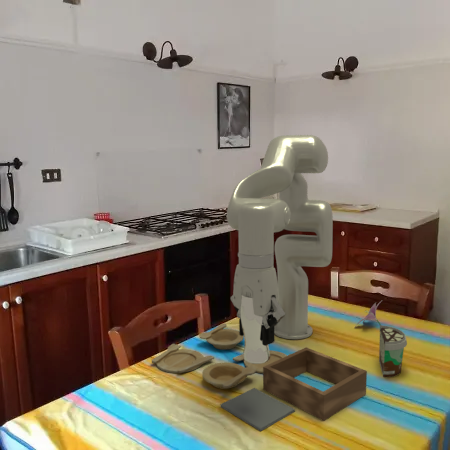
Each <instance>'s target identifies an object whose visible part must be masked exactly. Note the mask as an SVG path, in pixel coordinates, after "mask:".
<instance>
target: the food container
mask: <svg viewBox="0 0 450 450" xmlns="http://www.w3.org/2000/svg"><path fill="white" fill-rule="evenodd" d="M407 345H408V342H407V336H406V334H405V333H404V332H403V331H402V330H401V329H399V328H396V327H394V326H393V327H392V326H388V325H379V350H378V352H379V353H378V361H379V365H380V371H381V374H382V377H383V378H391V377H393V378H394V377H397V376H399V375H400V374H401V371H402V365H403V357H404V349H405V348H406V347H407Z"/></svg>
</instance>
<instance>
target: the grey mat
mask: <svg viewBox="0 0 450 450" xmlns="http://www.w3.org/2000/svg"><path fill="white" fill-rule="evenodd" d="M220 408H221V409H223V410H225V411H227V412H228V413H230V414H231V415H233V416H235V417H237V419H239V420H241V421H243V422H244V423H246V424H248V425H249V426H251V427H253V428H255V429H256V430H258V431H259V432H262V431H264V430H265V429H267V428H269V427H270V426H272V425H274V424H277V422H279V421H281V420H283V419H285V418H286V417H288V416H290V415H292V414H294V413H295V412H296V409H295V408H294V407H291V406H290V405H288V404H285V403H284V402H282V401H281V400H278V399H276V398H274V397H272V396H271V395H269V394H266V392H263V391H261V390H259V389H257V388H256V387H254V388H251V389H249V390H246V391H245V392H243V393H240V394H238V395H237V396H235V397H233V398H230V399H228V400H226V401H224V402H221V403H220Z"/></svg>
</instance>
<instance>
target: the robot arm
mask: <svg viewBox="0 0 450 450" xmlns="http://www.w3.org/2000/svg"><path fill="white" fill-rule="evenodd" d="M328 154H329V152H328V148H327V147H326V145H325V143H324V142H323V140H322V139H321V138H320V137H318V136H316V135H312V134H304V135H303V134H300V135H299V134H298V135H297V134H295V135H291V134H290V135H280V136H276V137H274V138H272V139H271V140H270V142H269V143H268V146H267V148H266V151H265V154H264V157H263V160H262V162H261V163H262V164H261V166H260V168H259V169H257V170H256V171H254V172H252V173H250V175H247V176H246V177H245V178H243V179H242V180H241V181H239V182H238V183H237V184H236V186H235V187H234V189H233V192H232V194H231V197H230V199H229V202H228V206H227V210H226V221H227V223H228V225H229V226H230V228H232V229H233V230H236V231H238V252H237V257H238V264H237V265H236V267H235V272H234V278H233V292H232V293H233V294H232V296H230V301H231V302H232V305H233V306H234V310H235V312H236V316H237V318H238V321H239V322H238V326H239V330H238V331H239V335H241V336H244V334H243V328H242V323H241V312H240V310H241V295H244V296H246V297H250V298H252V301H253V309H254V314H255V315H257V316H260V317H263V318H262V320H263V323H264V326H265V327H263V328H262V344H263V345H264V346H266V345H272V344H274V342H275V336H277V337H279V338H282V339H286V340H287V339H288V340H303V339H307V338H308V337H310V336H312V334H313V327H312V326H311V325H310V324H308V322H309V321H308V320H309V315H308V314H309V311H308V310H309V279H308V276H307V273H306V272H305V270H304V269H303V268H302V267H314V268H324V267H328V266H329V265H330V264H331V262H332V258H333V226H334V224H333V221H334V219H333V218H334V217H333V209H332V206H331V204H330V203H329V202H328V201H327V200H321V199H320V200H316V199H314V200H313V199H309V198H308V181H307V180H306V178H305V177H304V174H322V173H323V172H324V171H326V168H327V166H328V164H329V163H328V162H329V155H328ZM275 194H278V197H279V198H265V197H269V196H273V195H275ZM284 230H286V231H292V232H311V233H315V234H316V235H313V234H312V235H311V234H310V235H308V234H307V235H306V234H283V235H281V236H279V237H277V238H276V241H274V240H275V239H274V237H275V236H274V235H275V234H274V233H279V232H282V231H284ZM274 255H275V256H274ZM274 257H275V259H274ZM274 260H276V262H275V263H276V268H275V267H274V264H275V263H274ZM276 269H277V270H276ZM276 271H277V272H276ZM269 310H270V312H269ZM268 315H270V320H269V321H268V317H267V316H268Z"/></svg>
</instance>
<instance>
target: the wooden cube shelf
mask: <svg viewBox="0 0 450 450" xmlns="http://www.w3.org/2000/svg"><path fill="white" fill-rule="evenodd" d="M289 354H290V355H289ZM289 354H288V356H286V357H284V358H281V359H279V360H277V361H275V362H273V363H270V364H268V365H266V366H264V367H263V374H262V390H264V391H265V392H267V393H268V394H271V395H274V396H275V397H276V398H279V399H281V400H283V401H284V402H287V403H289V404H291V405H292V406H294V407H296V408H298V409H300V410H302V411H304V412H305V413H307V414H310V415H312V416H314V417H315V418H318V419H319V420H320V421H324V422H325V421H326V420H328V419H329V418H331V417H333V416H334V415H335V414H337V413H339V412H340V411H342V410H343V409H345V408H347V407H348V406H350V405H351V404H353V403H355V402H356V401H357V400H360V399H361V398H363V397H364V396H366V395H367V378H368V377H367V375H368V371H367V370H365V369H363V368H360V367H358V366H355V365H352V364H350V363H347V362H345V361H342V360H340V359H337V358H334V357H332V356H329V355H326V354H324V353H323V352H319V351H316V350H314V349H311V348H309V347H307V346H306V347H303V348H302V349H299V350H297V351H295V352H293V353H289ZM306 372H307V373H309V374H312V375H314V376H317V377H319V378H321V379H323V380H326V381H328V382H331V383H333V384H334V385H332V386H331V387H329V388H327V389H325V390H320V389H319V388H316V387H314V386H312V385H310V384H308V383H306V382H304V381H302V380H299V379H297V378H296V377H298V376H300V375H302V374H304V373H306Z"/></svg>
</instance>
